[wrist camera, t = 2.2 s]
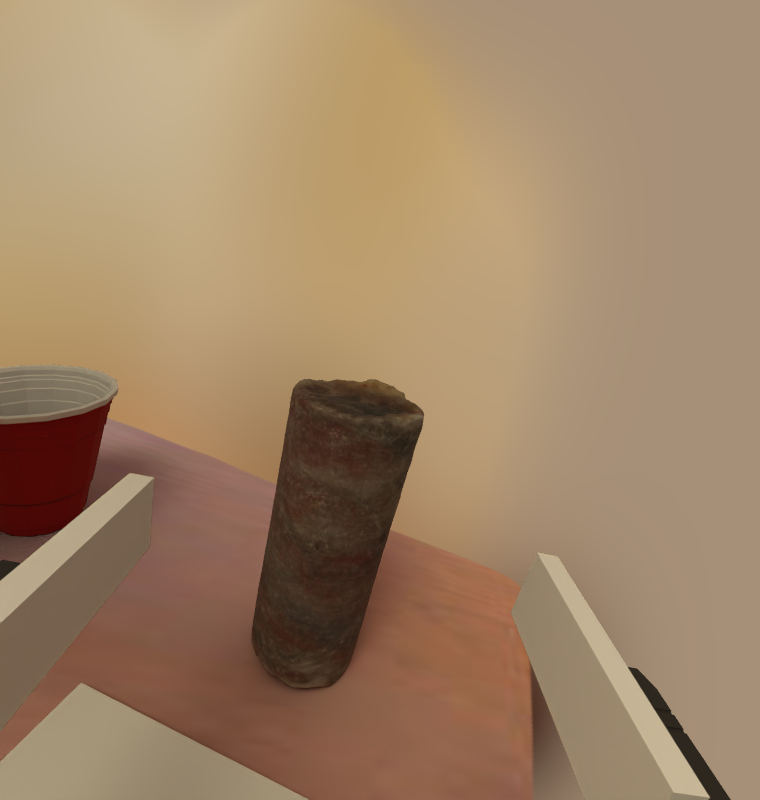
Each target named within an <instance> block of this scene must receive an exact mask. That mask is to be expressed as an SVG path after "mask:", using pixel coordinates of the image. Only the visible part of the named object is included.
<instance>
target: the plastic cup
mask: <svg viewBox="0 0 760 800" xmlns="http://www.w3.org/2000/svg"><path fill="white" fill-rule="evenodd" d="M117 392H118V385H117V380H116V379H114V378H112V377H110V376H109V375H107V374H105V373H104V372H100V371H95V370H91V369H87V368H83V367H73V366H61V365H20V366H11V367H2V368H0V531H1V532H4V533H7V534H10V535H12V536H35V535H41V534H47V533H51V532H53V531H56V530H59V529H62V528H64V527H65V526H67V525H68V524H69V523H70V522H71V521H73V520H74V519H75V518H76V517H77V516H79V515H80V514H81V513H82V511H83V508H84V506H85V504H86V500H87V496H88V491H89V487H90V482H91V481H92V480H93V475H94V471H95V466H96V462H97V457H98V452H99V448H100V443H101V439H102V434H103V430H104V425H105V424H106V421H107V415H108V412H109V410H110V404H111V403H112V399H113V397H114V396H116V395H117Z"/></svg>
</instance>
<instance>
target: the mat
mask: <svg viewBox="0 0 760 800" xmlns="http://www.w3.org/2000/svg"><path fill="white" fill-rule="evenodd" d="M0 800H309V799H307V798H305V797H303V796H301V795H299V794H297V793H295V792H293V791H291V790H289V789H287V788H285V787H283V786H281V785H279V784H278V783H276V782H274V781H272V780H270V779H268V778H266V777H264V776H262V775H260V774H258V773H256V772H254V771H252V770H250V769H248V768H246V767H244V766H242V765H241V764H239V763H237V762H235V761H233V760H231V759H229V758H227V757H225V756H223V755H221V754H219V753H217V752H215V751H213V750H211V749H209V748H207V747H205V746H204V745H202V744H200V743H198V742H196V741H194V740H192V739H190V738H188V737H186V736H184V735H182V734H180V733H178V732H176V731H174V730H172V729H170V728H169V727H167V726H165V725H163V724H161V723H159V722H157V721H155V720H153V719H151V718H149V717H147V716H145V715H143V714H141V713H139V712H137V711H135V710H133V709H132V708H130V707H128V706H126V705H124V704H122V703H120V702H118V701H116V700H114V699H112V698H110V697H108V696H106V695H104V694H102V693H100V692H98V691H97V690H95V689H93V688H91V687H89V686H87V685H85V684H83V683H80V684H79V685H78V686H77V687H76V688H75V689H74V690H73V691H72V692H71V693H70V694H69V695H68V696H67V697H66V698H65V699H64V700H63V701H62V702H61V703H60V704H59V705H58V706H57V707H56V708H55V709H54V710H53V711H52V712H50V713H49V714H48V715H47V716H46V717H45V718H44V719H43V720H42V721H41V722H40V723H39V724H38V725H37V726H36V727H35V728H34V729H33V730H32V731H31V732H30V733H29V734H28V735H27V736H26V737H25V738H24V739H23V740H22V741H21V742H20V743H19V744H18V745H17V746H16V747H15V748H14V749H13V750H12V751H11V752H9V753H8V754H7V755H6V756H5V757H4V758H3V759H2V760H1V761H0Z"/></svg>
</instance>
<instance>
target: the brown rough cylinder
mask: <svg viewBox="0 0 760 800" xmlns="http://www.w3.org/2000/svg"><path fill="white" fill-rule="evenodd" d="M423 417H424V413H423V411H422V410H421V409H420V408H419V407H418V406H417V405H416V404H414V403H412V402H410V401H409V400H406V398H405V395H404V393H402V392H400V391H399V390H397V389H396V388H395V387H393V386H390V385H388V384H385V383H382V382H379V381H378V380H372V379H370V380H367V381H364V382H356V381H345V380H333V381H328V382H327V381H323V380H318V381H317V380H311V379H304V380H301V381H299V382H298V383H297V384H296V386H295V387H294V389H293V392H292V396H291V402H290V410H289V416H288V421H287V427H286V433H285V439H284V445H283V452H282V457H281V462H280V468H279V474H278V480H277V487H276V493H275V499H274V504H273V510H272V516H271V522H270V528H269V533H268V539H267V544H266V550H265V555H264V561H263V567H262V572H261V577H260V583H259V588H258V595H257V601H256V607H255V613H254V620H253V627H252V643H253V648H254V649H255V652H256V655H257V656H258V658H259V660H260V661H261V663H262V664H263V666H264V668H265V669H266V670H267V671H268V672H269V673H270V674H272V675H274V676H275V677H277V678H279V679H280V680H282V681H283V682H285V683H286V684H288V685H289V686H291V687H303V688H310V687H323V686H324V687H327V686H329V685H331V684H333V683H334V682H335V681H336V680H337V679H338V678H340V677H341V676H342V674H343V673H344V671H345V670H346V668H347V666H348V664H349V662H350V660H351V657H352V654H353V651H354V648H355V645H356V641H357V638H358V635H359V632H360V628H361V625H362V622H363V619H364V615H365V612H366V608H367V605H368V601H369V598H370V594H371V591H372V587H373V584H374V581H375V577H376V574H377V571H378V567H379V564H380V560H381V557H382V553H383V550H384V547H385V544H386V541H387V538H388V534H389V531H390V527H391V524H392V521H393V518H394V515H395V512H396V509H397V506H398V503H399V500H400V496H401V492H402V488H403V485H404V482H405V479H406V475H407V472H408V469H409V467H410V464H411V461H412V457H413V453H414V449H415V446H416V443H417V440H418V438H419V435H420V432H421V430H422V425H423Z"/></svg>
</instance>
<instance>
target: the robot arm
mask: <svg viewBox="0 0 760 800" xmlns="http://www.w3.org/2000/svg"><path fill="white" fill-rule="evenodd" d="M153 491H154V477H149V476H144V475H139V474H133V473H129V474H128V475H127V476H126V477H124V478H123V479H122V480H121V481H120V482H118V483H117V484H116V485H115V486H114V487H112V488H111V489H110V490H109V491H107V492H106V493H105V494H104V495H103V496H101V497H100V498H99V499H98V500H97V501H95V502H94V503H93V504H92V505H91V506H89V507H88V508H87V509H86V510H85V511H83V512H82V513H81V514H80V515H79V516H77V517H76V518H75V519H74V520H73V521H71V522H70V523H69V524H68V525H67V526H65V527H64V528H63V529H62V530H61V531H59V532H58V533H57V534H56V535H55V536H53V537H52V538H51V539H50V540H49V541H47V542H46V543H45V544H44V545H43V546H41V547H40V548H39V549H38V550H37V551H35V552H34V553H33V554H32V555H31V556H29V557H28V558H27V559H26V560H25V561H23V562H22V563H17V562H11V561H5V560H1V561H0V731H1V730H2V729H3V728H4V726H5V725H6V724H7V723H8V721H9V720H10V719H11V718H12V716H13V715H14V714H15V713H16V711H17V710H18V709H19V708H20V707H21V705H22V704H23V703H24V702H25V700H26V699H27V698H28V697H29V695H30V694H31V693H32V692H33V690H34V689H35V688H36V687H37V686H38V684H39V683H40V682H41V681H42V679H43V678H44V677H45V676H46V674H47V673H48V672H49V671H50V669H51V668H52V667H53V666H54V665H55V663H56V662H57V661H58V660H59V658H60V657H61V656H62V655H63V653H64V652H65V651H66V650H67V649H68V647H69V646H70V645H71V644H72V642H73V641H74V640H75V639H76V637H77V636H78V635H79V634H80V632H81V631H82V630H83V629H84V628H85V626H86V625H87V624H88V623H89V621H90V620H91V619H92V618H93V616H94V615H95V614H96V613H97V611H98V610H99V609H100V608H101V607H102V605H103V604H104V603H105V602H106V600H107V599H108V598H109V597H110V595H111V594H112V593H113V592H114V590H115V589H116V588H117V587H118V586H119V584H120V583H121V582H122V581H123V579H124V578H125V577H126V576H127V574H128V573H129V572H130V571H131V570H132V568H133V567H134V566H135V565H136V563H137V562H138V561H139V560H140V558H141V557H142V556H143V555H144V553H145V552H146V551H147V550H148V549H149V547H150V537H151V522H152V506H153ZM511 614H512V616H513V619H514V621H515V624H516V627H517V629H518V632H519V634H520V637H521V639H522V642H523V644H524V647H525V649H526V652H527V655H528V657H529V660H530V662H531V665H532V667H533V670H534V672H535V675H536V677H537V680H538V682H539V685H540V688H541V690H542V693H543V695H544V698H545V700H546V703H547V705H548V708H549V710H550V713H551V715H552V718H553V720H554V723H555V726H556V728H557V731H558V733H559V736H560V738H561V741H562V743H563V746H564V749H565V751H566V753H567V756H568V759H569V761H570V764H571V766H572V769H573V771H574V774H575V776H576V779H577V781H578V784H579V787H580V789H581V792H582V794H583V797H584V799H585V800H730V798H729V797H728V795H727V794H726V792H725V791H724V789H723V788H722V786H721V785H720V783H719V782H718V780H717V779H716V777H715V776H714V774H713V773H712V771H711V770H710V768H709V767H708V765H707V764H706V762H705V761H704V759H703V758H702V756H701V755H700V753H699V752H698V750H697V749H696V747H695V746H694V744H693V743H692V741H691V740H690V738H689V737H688V735H687V734H685V733H684V732H683V728H682V726H681V725H680V723H679V722H678V720H677V719H676V717H675V716H674V715H672V714H671V710H670V709H669V707H668V705H667V704H666V702H665V701H664V699H663V698H662V697H661V695H660V693H659V692H658V690H657V689H656V688H655V687H654V686H653V685H652V684H651V683H650V682H649V681H648V679H646V677H645V676H644V675H643V674H642V673H641V672H640V671H639V670H638V669H636V668H630V667H627V666H626V664H625V662H624V661H623V660H622V658H621V656H620V655H619V653H618V651H617V650H616V648H615V647H614V645H613V643H612V642H611V640H610V639H609V637H608V636H607V634H606V632H605V631H604V629H603V628H602V626H601V625H600V623H599V621H598V620H597V618H596V617H595V615H594V613H593V612H592V610H591V609H590V607H589V605H588V604H587V602H586V601H585V599H584V598H583V596H582V594H581V593H580V591H579V590H578V588H577V586H576V585H575V583H574V582H573V580H572V579H571V577H570V575H569V574H568V572H567V571H566V569H565V567H564V566H563V564H562V563H561V561H560V560H559V558H558V557H557V556H552V555H547V554H542V553H537V554H536V556H535V559H534V561H533V563H532V566H531V568H530V570H529V572H528V575H527V577H526V579H525V581H524V584H523V586H522V588H521V590H520V593H519V595H518V597H517V599H516V602H515V604H514V606H513V608H512V611H511Z"/></svg>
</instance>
